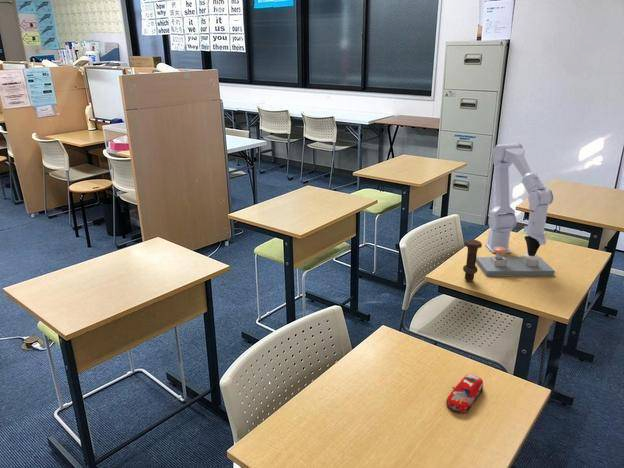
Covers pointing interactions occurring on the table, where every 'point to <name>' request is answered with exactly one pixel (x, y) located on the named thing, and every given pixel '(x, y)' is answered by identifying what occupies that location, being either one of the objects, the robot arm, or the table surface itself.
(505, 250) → the terracotta plunger
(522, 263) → the press plate
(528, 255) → the grey plunger
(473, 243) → the bolt
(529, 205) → the robot arm
